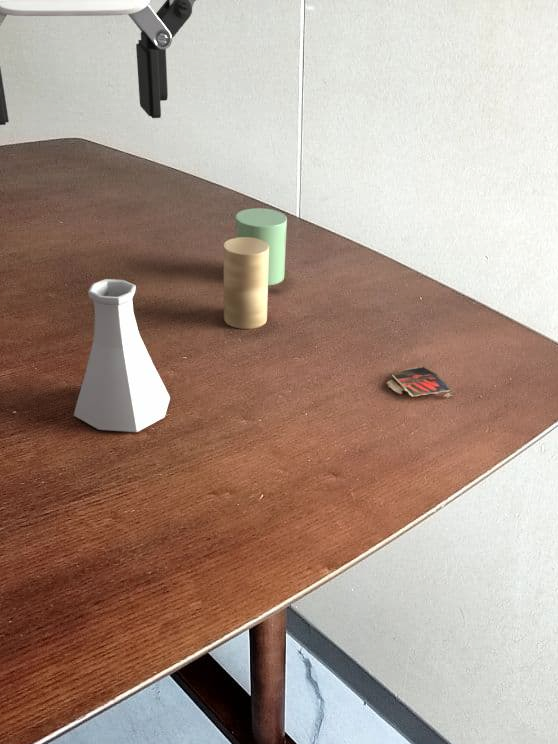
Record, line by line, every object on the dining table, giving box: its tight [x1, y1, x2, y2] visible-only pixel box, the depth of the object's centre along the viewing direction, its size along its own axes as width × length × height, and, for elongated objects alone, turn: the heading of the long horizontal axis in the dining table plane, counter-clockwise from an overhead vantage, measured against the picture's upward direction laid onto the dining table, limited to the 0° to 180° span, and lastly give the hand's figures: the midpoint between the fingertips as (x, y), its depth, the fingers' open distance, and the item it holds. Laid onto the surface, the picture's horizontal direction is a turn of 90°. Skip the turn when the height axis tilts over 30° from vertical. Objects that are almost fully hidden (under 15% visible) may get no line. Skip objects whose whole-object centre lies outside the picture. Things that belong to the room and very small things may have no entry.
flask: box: [73, 278, 171, 433], centre depth 64 cm, size 7×7×10 cm
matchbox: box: [386, 365, 457, 398], centre depth 72 cm, size 5×5×1 cm
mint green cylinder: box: [235, 207, 288, 287], centre depth 86 cm, size 5×5×6 cm
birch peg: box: [223, 237, 269, 330], centre depth 78 cm, size 4×4×7 cm
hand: (77, 115), depth 56 cm, fingers open, 9 cm apart
